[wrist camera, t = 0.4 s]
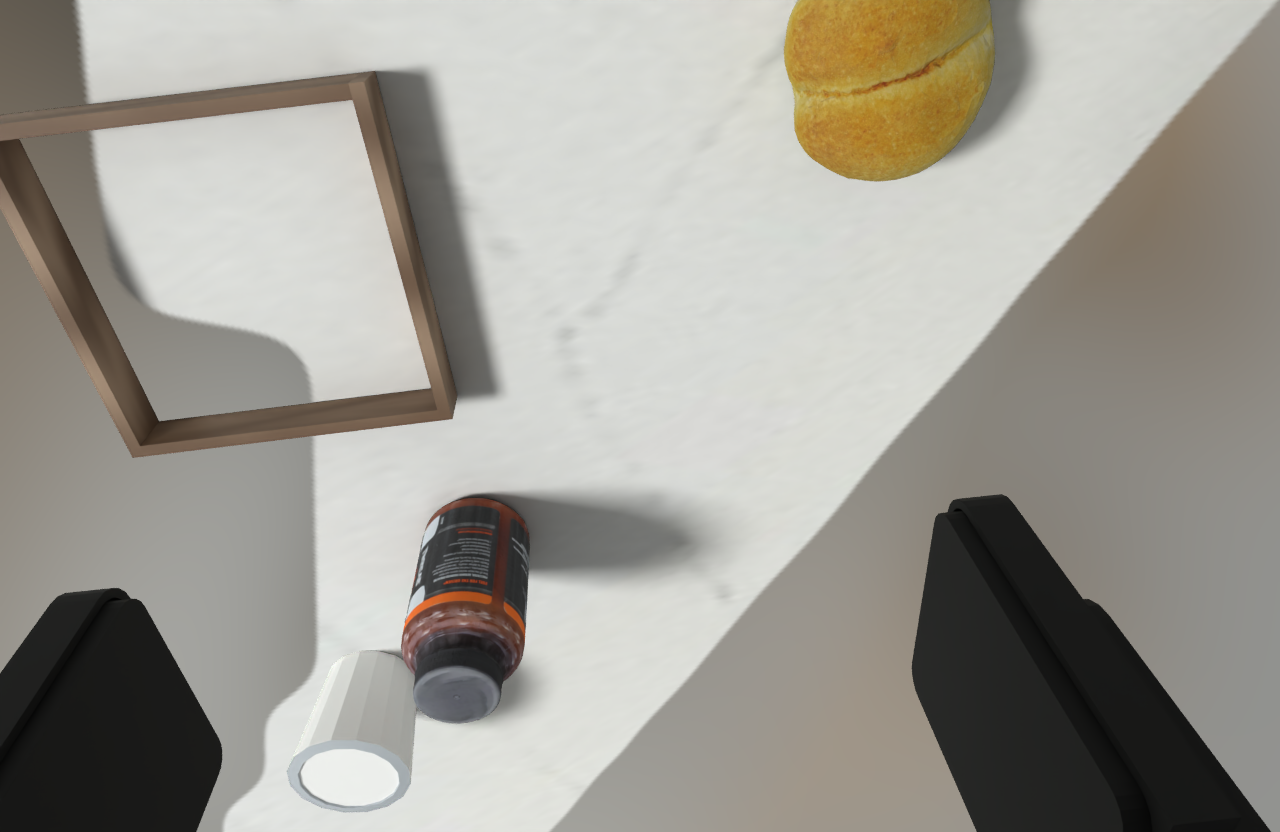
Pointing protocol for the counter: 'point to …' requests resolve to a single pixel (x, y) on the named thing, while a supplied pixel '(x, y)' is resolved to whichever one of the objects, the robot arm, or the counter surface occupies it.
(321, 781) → the white cup
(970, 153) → the counter surface
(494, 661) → the supplement bottle
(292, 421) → the frame
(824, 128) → the bread roll
